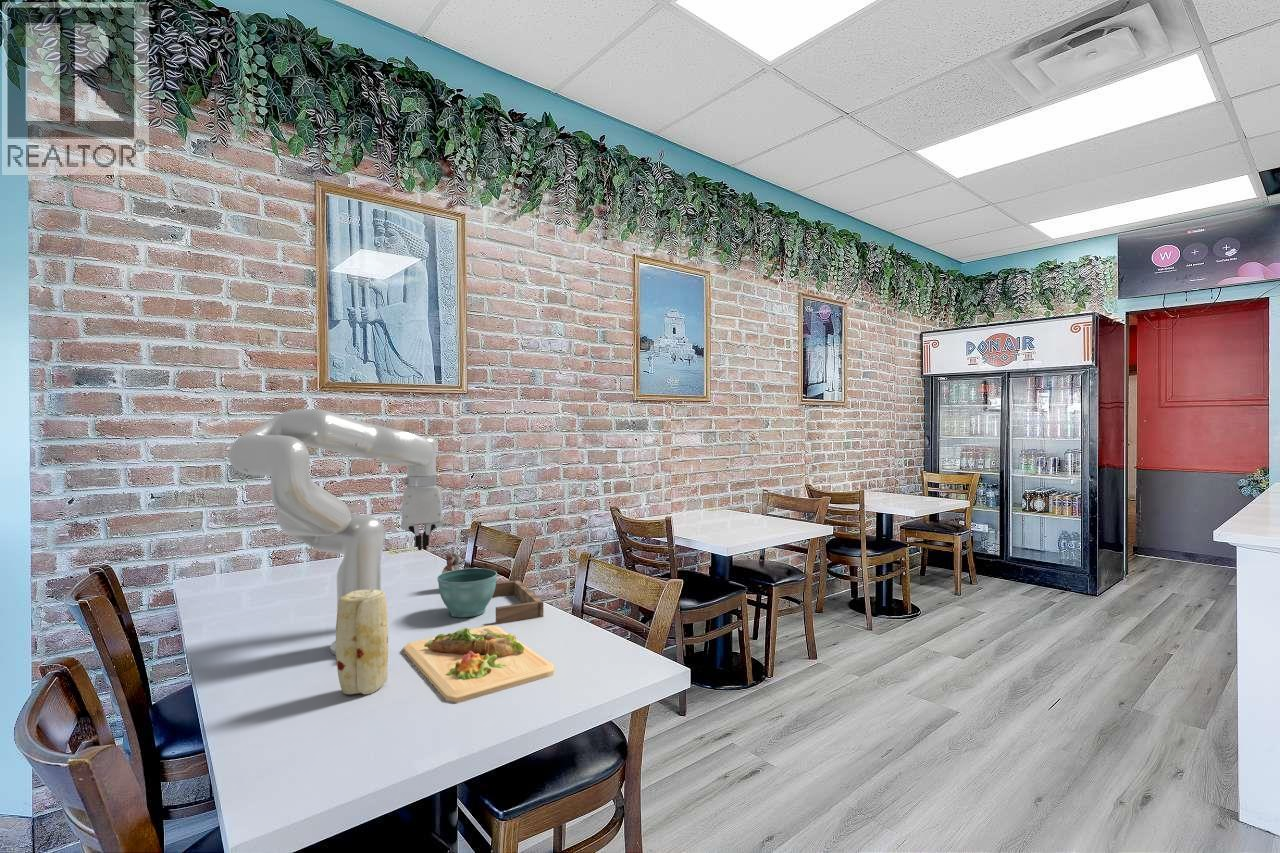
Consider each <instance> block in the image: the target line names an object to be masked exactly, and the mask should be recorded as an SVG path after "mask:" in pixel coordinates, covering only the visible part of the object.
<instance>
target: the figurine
mask: <svg viewBox="0 0 1280 853" xmlns="http://www.w3.org/2000/svg"><path fill="white" fill-rule="evenodd" d="M445 557H446V566H445V567H443V569H442V572H441V574H442V573H445V572H448V571H453V570H459V569H462V568H461V564H460V555H458V553H456V552H449V553H447V555H446V556H445Z"/></svg>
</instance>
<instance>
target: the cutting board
mask: <svg viewBox="0 0 1280 853" xmlns="http://www.w3.org/2000/svg"><path fill="white" fill-rule="evenodd" d="M470 628H471V627H470V626H468V627H462V628H460V629H458V630H457V631H455V632H452V633H447V634H444V633H439V634H437V635H436V636H432V637H430V638H429V637H428V638H425V639H424V638H423V639H420V640H415V641H410V642H407V643H406V644H405V645H404V646H403V648H402V650H403V653H404V655H406V656H407V658H409V660H410V661H411V662H412V663H413V664H414V666H416V668H417V669H418V670H419V671H420V673H421V674H422V675H423V676H424V675H425V676H426V677H427V678H428V679H429V680H428V679H427V678H426V677H425V676H424V677H425V678H426V679H427V680H428V681H429V682H430V683H431V685H432V684H433V685H434V686H433V685H432V686H433V687H434V688H435V689H436V690H437V691H438V693H439V694H440V695H441V696H442V697H443V698H444V699H445V701H446V702H447V701H448V702H453V703H456V704H457V703H459V704H460V703H463V702H466V701H469V700H473V699H476V698H480V697H483V696H487V695H491V694H493V693H496V692H501V691H503V690H508V689H510V688H514V687H518V686H521V685H525V684H528V683H532V682H534V681H535V682H536V681H539V680H542V679H545V678H548V677H552V676H554V673H555V664H553V663H552V662H551V661H549V660H547V659H546V658H544V657H543V656H542V655H540V654H538V653H537V652H536V651H535V650H532V649H531V648H530V647H528V646H527V645H525V644H524V643H523V642H521V641H520V640H518V639H517V637H516V635H513V633H508V632H506V631H505V630H503V628H501V627H499V626H497V625H491V624H489V625H488V624H487V625H484V626H479V627H476V628H471V629H470Z"/></svg>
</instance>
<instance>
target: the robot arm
mask: <svg viewBox="0 0 1280 853" xmlns="http://www.w3.org/2000/svg"><path fill="white" fill-rule="evenodd" d="M308 447H309V448H316V449H321V450H326V451H331V452H335V453H338V454H343V455H347V456H351V457H354V458H361V459H373V460H374V459H379V460H380V462H381V463H383V464H385V465H388V466H393V467H394V466H398V467H399V466H400V467H406V477H404V478H401V479H400V483H401V485H402V484H403V485H406V487H404V490H403V495H402V502H401V522H400V524H399V526H400V529H401V530H408V531H410V532H411V533H412V534H414V544H415V545H414V547H416V548H417V549H418V551H421V550H422V549H423V550H424V551H425V550H427V547H429V545H430V534H431V533H432V532H433V531H434V530H435V529H436V528H439V527H442V526H443V525H444V522H443V505H442V494H441V490H440V486H438V485H437V443H436V439H434V438H433V437H429V436H427V437H425V436H421V435H418V434H415V433H412V432H410V431H405V430H400V429H395V428H390V427H386V426H382V425H378V424H374V423H369V422H368V423H367V422H364V421H362V420H361V421H360V420H358V419H354V418H351V417H348V416H346V415H342V414H339V413H336V412H333V411H331V410H330V411H329V410H326V409H318V408H314V409H303V408H302V409H291V410H287V411H284V412H282V413H280V414H278V415H276V416H274V417H273V418H270V419H269V420H267V421H265V422H264V423H262V424H260V425H258V426H256V427H255V428H253V429H251V430H249V431H247V432H246V433H244V434H242V435H241V436H239V437H238V438H237V439H236V440H235V441H233V444H232V445H231V447H230V448H229V451H228V461H229V463H230V465H231V466H232V467H233V469H235V470H236V471H238V472H239V473H241V474H242V475H243V474H245V475H248V476H250V475H251V476H266V477H267V476H268V477H270V498H271V502H272V504H273V506H274V508H275V509H276V510H277V511H276V519H277V523H278V525H279V527H280V528H281V530H282V531H283V532H284V533H286V534H287V535H289V536H290V537H292V538H294V539H296V540H298V541H299V542H302V543H303V544H305V545H307V546H309V547H311V548H313V549H315V550H318V551H320V552H324V553H328V554H331V553H332V554H339V555H344V556H343V559H342V560H341V563H340V565H339V567H338V569H337V573H336V610H337V609H338V601H339V599H340V598H341V597H342V596H344V595H346V594H348V593H350V592H353V591H357V590H380V591H382V583H381V582H382V579H381V578H382V573H381V572H382V571H381V570H382V557H383V556H382V555H383V548H384V544H385V538H386V530H385V526H384V524H383V523H382V521H381V520H380V519H378V518H377V517H374V516H372V515H368V514H360V513H359V514H357V513H356V514H355V513H351V511H350V509H349V507H348V506H347V504H346V503H345V502H344V501H342V500H341V499H340V498H338V497H336V496H335V495H333V494H332V493H330V492H328V491H327V490H325V489H324V488H323V487H320V486H319V485H318V484H316V483H315V482H314V481H313V480H312V479H311V476H310V453H309V449H308ZM419 525H420V526H421V525H424V531H423V532H422V534H421V532H420V528H419ZM329 652H330V653H331V654H332V655H335V656H336V640H335V641H333V642H332V643H331V644H330V646H329Z"/></svg>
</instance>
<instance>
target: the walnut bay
mask: <svg viewBox="0 0 1280 853" xmlns="http://www.w3.org/2000/svg"><path fill="white" fill-rule="evenodd" d="M513 595H514V596H515V597H516V598H518V600H519V601H521V603H516V604H509V605H502V606H496V607H495V623H496V624H497V625H498V624H504V623H512V622H518V621H525V620H530V619H536V618H543V617H544V601H543V600H541V599H540V598H539V597H538V596H537V595H536V594H535V593H534V592H533V591H531V590H530V589H529V588H528V587H527V586H526V585H524V584H523V583H522V582H521V581H520V580H519V579H515V580H514V579H513V580H507V581H498V582H496V586H495V591H494V594H493V596H492V598H498V597H499V598H500V597H507V596H513ZM492 598H491V599H492Z"/></svg>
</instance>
